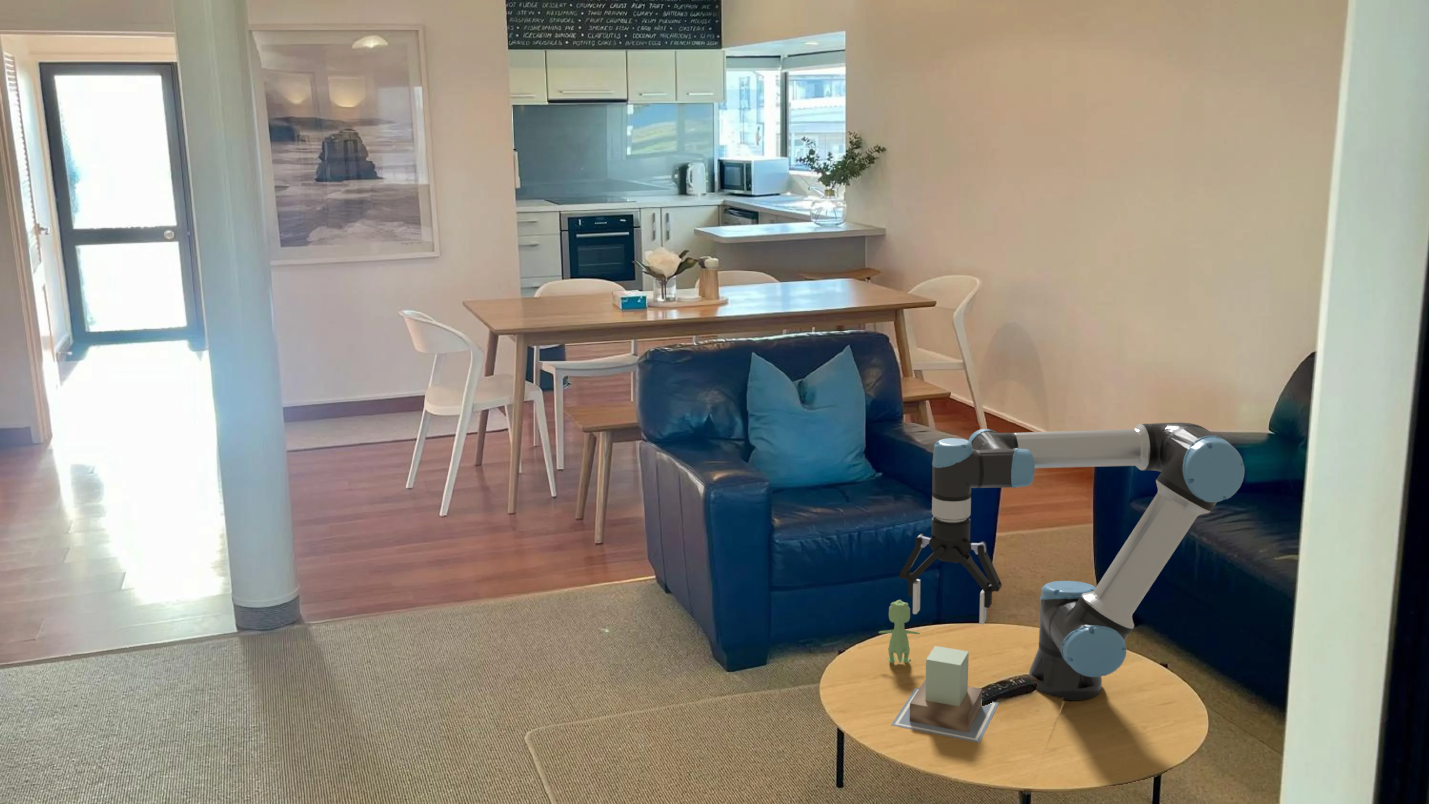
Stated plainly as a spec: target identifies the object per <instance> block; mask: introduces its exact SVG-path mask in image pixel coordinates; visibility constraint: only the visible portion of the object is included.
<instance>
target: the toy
mask: <svg viewBox="0 0 1429 804" xmlns="http://www.w3.org/2000/svg"><path fill="white" fill-rule="evenodd" d="M888 619H889V621H890V622H891V623H893V624H894V628H893V629H889V630H880V631H878V634H891V636H890V639H889V643H888V656H889V657H887V661H888V662H889V663H891V664H894V663H895V661H896V660H897V659H898V662H899V664H901V663H902V662H903V663H904V664H908V663H910V662H911V658H909V656H910V652H911V651H910V650H911V649H910V645H909V644H910V643H909V638H908V635H909V634H911V635H912V634H914V635H921V632H919V631H914V630H913V631H911V630H908V629H907V630H906V629H905V624H907V623H908V622H909V621H910V619H911V608H910V606H909V603H908V602H904V601H902V599H898V600H896V601H893V602H891V603H890V606H889V607H888ZM894 654H896V657H897V658H896V657H894Z"/></svg>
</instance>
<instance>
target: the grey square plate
mask: <svg viewBox="0 0 1429 804" xmlns="http://www.w3.org/2000/svg"><path fill="white" fill-rule="evenodd" d="M919 688H920V687H915V688H914V689H913V691H911V694H910V695H909V697H908V699H907V700H906V701H905V703H904V704H903V706H902V708H901V709H900V711H898V714H897V715H896V717H895V718H894V720H893V722H892V723H891V724H890V726H894V727H898V728H903V729H908V730H914V731H918V732H924V733H927V734H928V733H929V734H932V735H933V734H934V735H939V736H943V737H948V738H949V737H950V738H952V739H953V738H954V739H960V740H962V741H963V740H964V741H969V742H973V743H981V741H982V739H983V737H984V735H985V733H986V731H987V729H988V726H989V724H990V722H991V721H992V719H993V717H994V715H995V712H996V711H997V709H998V707H999V705H1000V702H997V701H996V702H995V701H992V703H990V704H988V705H985V706H982V707H981V709H980V711H979V713H978V714H977V716H976V718H975V720H974V722H973V724H972V726H971V728H970V730H969V732H968V733H967V732H962V731H957V730H952V729H947V728H942V727H937V726H932V725H927V724H921V723H916V722H911V721H910V702H911V701H912V699H913V698H914V696H915V695H916V693H917V691H918V690H919Z"/></svg>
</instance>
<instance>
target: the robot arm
mask: <svg viewBox="0 0 1429 804" xmlns="http://www.w3.org/2000/svg"><path fill="white" fill-rule="evenodd" d="M931 465H932V493H931V494H932V497H931V498H932V499H931V506H932V507H931V515H932V517H931V535H930V537H929V536H925V535H924V534H923V533H919V535H918V536H916V538H915V541H914V548H913V550H912V551H911V552H910V555H909V556H908V558H907V559H906V562H905V564H904V565H903V567H902V569H901V571H900V572H899V574H898V575H899V578H900V579H903V580H906V581H907V583H908V593H907V594H908V597H909V598H911V597H912V614H913V615H917V614H918V613H919V611H921V579H919V577H920V576H921V575H922V574H923V573H924V572H925V571H926V570H927V569H928V567H930V566H931V565H932V564H933V563H934V562H935V561H936V560H937V559H939V560H940V561H941V562H942V563H943V562H945V563H946V562H949V563H953V564H957V563H960V564H961V566H963V567H964V568H965V569H966V571H967V572H968V573H969V574H970V576H972V578H973V579H974V580H975V582H976V583H977V584H978V585H979V587H980V588H981V589H982V590H981V591H980V593H979V618H978V619H979V620H978V621H979V622H978V623H979V625H984V623H985V622H986V620H987V608H988V609H990V608H991V606H992V604H993V603H992V602H993V592H999V591H1000V589H1001V588H1002V586H1003V584H1002V582H1001V580H1000V577H999V574H998V573H997V571H996V568H995V566H994V565H993V562H992V560H991V558H990V556H989V554H988V551H987V549H988V548H987V542H986V541H981V542H978V543H977V542H972V541H971V518H970V516H971V509H972V506H971V505H972V495H971V494H972V488H973V489H984V488H985V489H987V488H991V489H993V488H1000V489H1001V488H1005V489H1006V488H1012V489H1016V488H1023V487H1025V488H1026V487H1029V486H1031V485H1032V484H1033V482H1034V479H1035V474H1036V470H1035V469H1053V468H1056V469H1057V468H1090V467H1093V468H1095V467H1128V466H1129V467H1133V466H1135V467H1136V468H1137V469H1139V470H1140V471H1156V472H1160V473H1159V475H1158V476H1157V478H1156V479H1155V483H1156V487H1157V493H1156V494H1155V496H1154V497H1153V499H1152V500H1151V502H1150V504H1149V505H1148V506H1147V508H1146V510H1145V511H1144V513H1143V514H1142V516H1141V517H1140V519H1139V521H1137V524H1136V525H1135V527H1134V528H1133V530H1132V532H1131V533H1130V534H1129V536H1128V538H1127V539H1126V540H1125V542H1124V544H1123V545H1122V547H1121V548H1120V550H1119V551H1118V552H1117V554H1116V555H1115V558H1114V559H1113V561H1112V562H1111V564H1110V565H1109V567H1108V568H1107V570H1106V571H1105V573H1104V574H1103V576H1102V577H1101V579H1100V581H1099V582H1098V583H1097V585H1096V586H1095V585H1092V584H1090V583H1087V582H1083V581H1076V580H1057V581H1055V580H1054V581H1051V582H1047V583H1046V584H1043V586H1042V587H1041V592H1040V597H1039V600H1040V603H1039V606H1040V607H1039V609H1040V610H1039V628H1038V629H1039V631H1038V633H1039V634H1038V649H1037V652H1036V653H1035V656H1034V659H1033V661H1032V664H1031V666H1030V669H1029V673H1028V677H1029V676H1032V677H1034V678H1037V687H1036V689H1035V690H1037V691H1038V692H1040V693H1043V694H1045V695H1047V696H1048V695H1049V696H1051V697H1056V698H1060V699H1061V698H1062V699H1063V700H1065V701H1082V700H1088V699H1091V698H1094V697H1096V696H1098V695H1099V694H1100V693H1101V691H1102V683H1103V682H1102V681H1103V680H1102V677H1104V676H1108V675H1110V674H1113V673H1114V672H1116V671H1117V670H1118V669H1119V668H1120V667H1121V666H1122V665H1123V663H1124V661H1125V660H1126V656H1127V644H1126V639H1128V636H1129V635H1130V634H1131V633H1132V631H1133V629H1134V627H1135V623H1134V620H1133V614H1134V613H1135V611H1136V610H1137V608H1138V607H1139V605H1140V604H1141V602H1142V601H1143V599H1144V597H1145V596H1146V595H1147V593H1148V592H1149V591H1150V589H1151V587H1152V585H1153V584H1154V583H1155V581H1156V580H1157V578H1158V576H1159V575H1160V573H1161V572H1162V570H1163V569H1164V567H1165V566H1166V564H1167V563H1168V561H1169V560H1170V559H1171V557H1172V555H1174V552H1175V551H1176V549H1177V548H1178V546H1179V545H1180V543H1181V542H1182V540H1183V539H1184V537H1185V536H1186V534H1187V532H1188V531H1189V530H1190V528H1191V526H1193V524H1194V522H1195V521H1196V519H1197V517H1199V516H1201V515H1204V514H1210V513H1211V512H1212V510H1213V509H1214V507H1215V506H1216V504H1217V503H1218V502H1222V501H1224V500H1229V499H1230V498H1232V497H1233V496H1234V495H1236V493H1237V491H1239V489H1240V488H1241V486H1242V483H1243V482H1244V478H1245V464H1244V461H1243V458H1242V456H1241V454H1240V453H1239V451H1238V450H1237V448H1235V447H1234V446H1233V445H1232V444H1231V443H1230V442H1229V441H1227V440H1226V439H1225V438H1222V437H1221V436H1220V437H1219V436H1218V435H1217V434H1214V433H1213V432H1211V431H1210V430H1209V429H1207V428H1205V427H1204V426H1201V425H1199V424H1195V423H1192V422H1191V423H1190V422H1160V423H1159V422H1157V423H1156V422H1154V423H1138V424H1136V425H1135V427H1134V428H1130V429H1129V428H1126V429H1125V428H1120V429H1099V430H1098V429H1094V430H1092V429H1090V430H1063V431H1061V430H1059V431H1057V430H1056V431H1031V432H1028V431H1027V432H997V431H995V430H992V429H989V428H980V429H978V430H976V431H974V432H973V433H972V434H971V435H970V436H969V438H968V440H967V439H964V438H956V437H952V438H951V437H949V438H942V439H940V440H937V441H936V442H935V443H934V446H933V455H932V462H931ZM927 545H929V547H930V548H931V551H933V552H932V553H931V554H930V555H929V556H928V557H927V558H926V559H925V560H924V561H923V562H922V563H921V564H920V565H919V566H918V567H917V568H916V569H915V570H914V571H913V572H910V570H911V569H912V567H913V565H915V564H914V563H916V560H917V558H918V557H919V555H920V553H921V551H922V550H923V549H924V548H925V547H927ZM971 550H972V551H974V553H975V555H977V556H978V559H979V562H980V564H981V566H982V568H983V570H984V572H985V574H984V572H983V571H982V570H981V569H980V567H979V566H978V565H977V563H975V561H974V559H973V557H972V555H971V554H970V553H969V552H971Z"/></svg>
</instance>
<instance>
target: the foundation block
mask: <svg viewBox="0 0 1429 804" xmlns="http://www.w3.org/2000/svg"><path fill="white" fill-rule="evenodd" d="M918 688H919V690H918V691H917V693H916V695H915V696H914V698H913V699H912V701H911V702H910V721H911V722H916V723H921V724H927V725H932V726H937V727H942V728H947V729H952V730H957V731H962V732H967V733H968V732H969V730H970V728H971V726H972V724H973V722H974V720H975V718H976V716H977V714H978V713H979V711H980V709H981V707H982V700H983V688H980V687H973V686H968V692H967V694H966V695H965V697H964V699H963V701H962V703H961V704H960V706H954V705H948V704H943V703H938V702H932V701H927V700H925V690H926V678H925V679H924V680H923V681H922V684H921V685H920V687H918Z"/></svg>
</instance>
